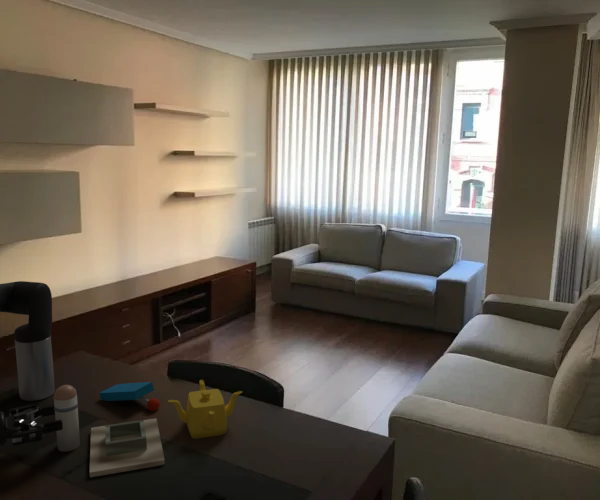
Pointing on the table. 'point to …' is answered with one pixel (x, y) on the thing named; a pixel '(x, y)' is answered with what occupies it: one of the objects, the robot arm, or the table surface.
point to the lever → (131, 393)
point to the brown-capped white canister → (67, 418)
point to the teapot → (206, 412)
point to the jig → (125, 447)
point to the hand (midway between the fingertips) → (60, 416)
